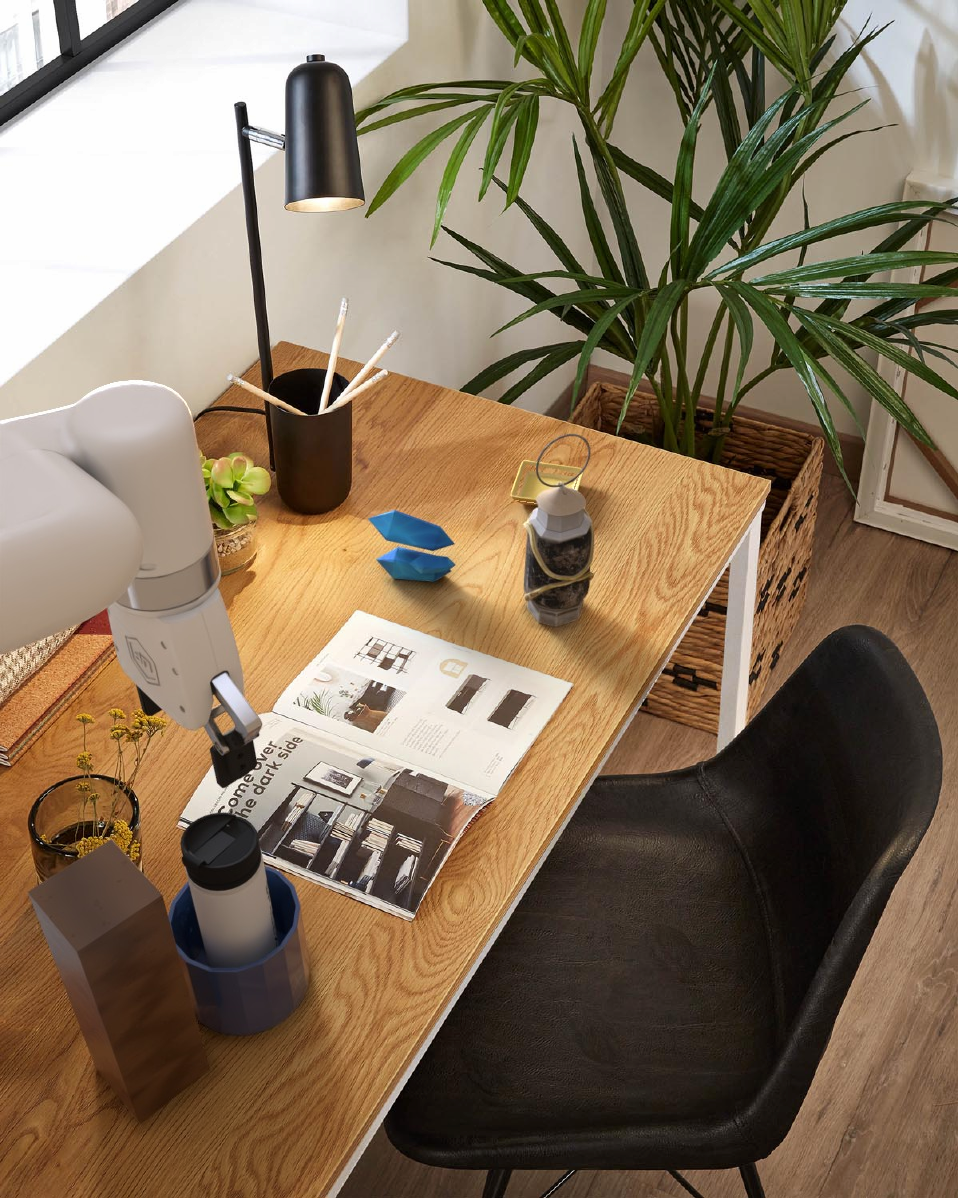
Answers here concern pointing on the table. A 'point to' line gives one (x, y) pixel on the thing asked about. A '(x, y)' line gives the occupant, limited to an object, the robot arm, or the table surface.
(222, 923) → the travel mug
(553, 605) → the lantern
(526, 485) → the yellow basket
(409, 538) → the blue crystals
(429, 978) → the table surface
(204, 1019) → the crock
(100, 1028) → the plinth
